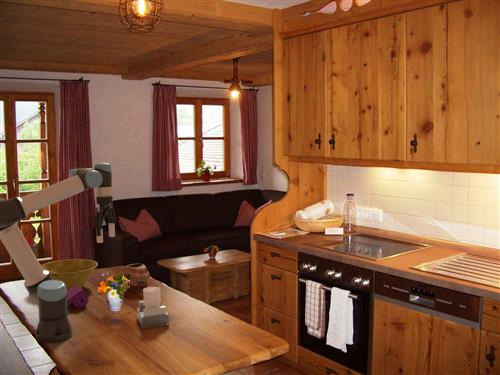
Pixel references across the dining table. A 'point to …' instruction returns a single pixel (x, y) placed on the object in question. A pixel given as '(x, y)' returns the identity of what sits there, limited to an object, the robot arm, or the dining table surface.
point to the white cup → (151, 297)
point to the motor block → (152, 316)
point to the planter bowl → (71, 271)
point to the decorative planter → (136, 276)
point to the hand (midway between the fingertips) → (106, 239)
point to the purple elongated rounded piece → (77, 297)
